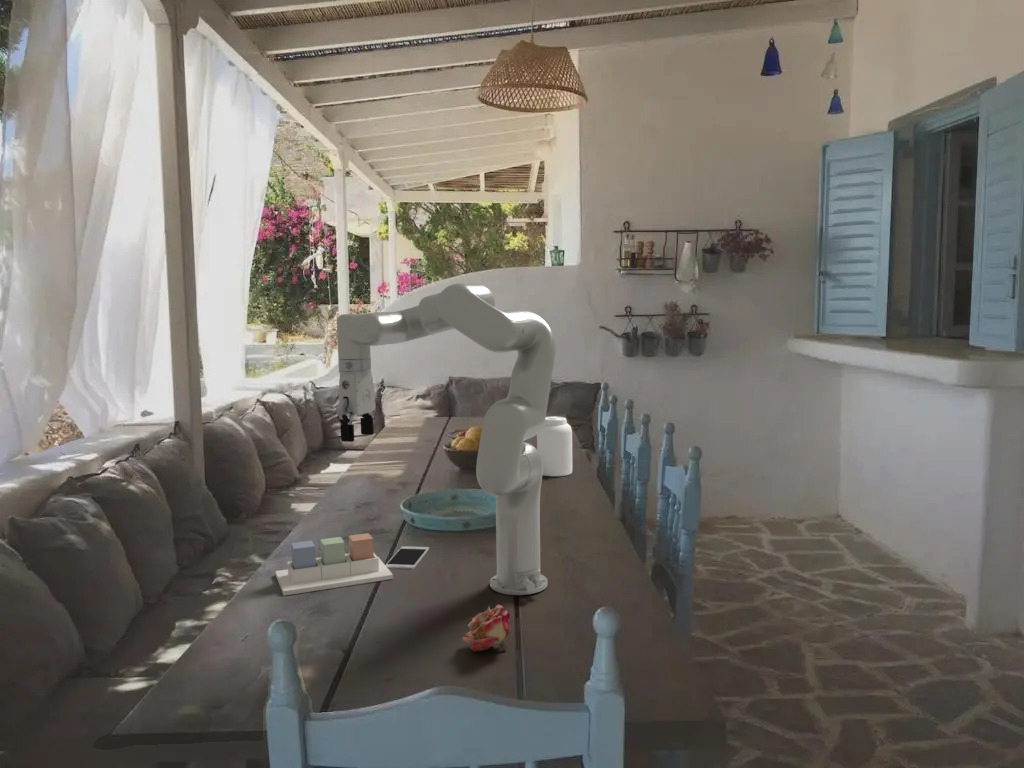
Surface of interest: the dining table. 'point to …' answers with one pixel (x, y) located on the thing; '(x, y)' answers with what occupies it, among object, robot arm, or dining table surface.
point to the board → (332, 575)
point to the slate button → (303, 554)
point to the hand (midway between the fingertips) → (357, 437)
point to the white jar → (555, 447)
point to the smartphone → (407, 557)
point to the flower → (488, 629)
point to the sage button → (332, 550)
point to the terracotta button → (361, 547)
